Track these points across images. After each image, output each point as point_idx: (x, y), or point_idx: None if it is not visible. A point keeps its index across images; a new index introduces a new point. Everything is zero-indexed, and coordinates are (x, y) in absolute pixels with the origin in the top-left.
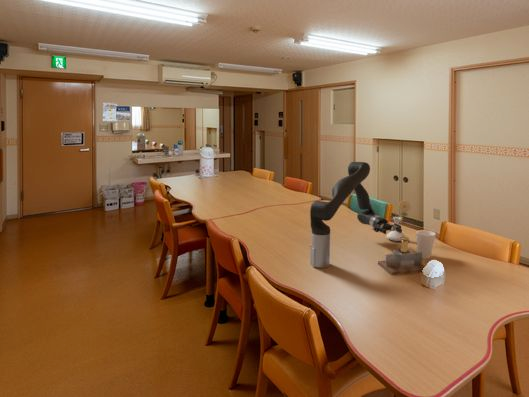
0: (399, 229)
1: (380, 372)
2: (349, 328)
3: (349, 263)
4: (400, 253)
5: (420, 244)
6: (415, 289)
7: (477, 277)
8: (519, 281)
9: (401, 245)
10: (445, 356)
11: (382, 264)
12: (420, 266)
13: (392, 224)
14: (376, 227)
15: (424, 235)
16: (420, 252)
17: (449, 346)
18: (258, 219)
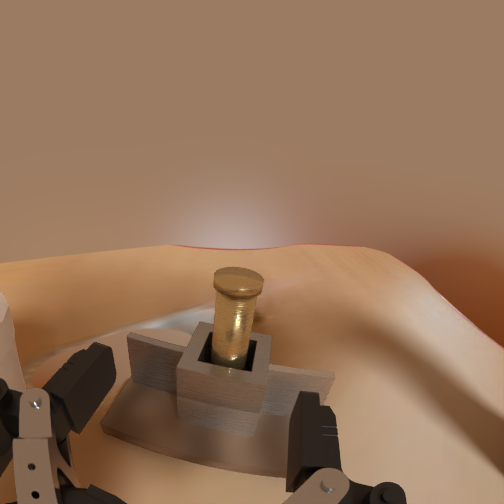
0: (100, 363)
1: (401, 261)
2: (430, 290)
3: (448, 493)
4: (268, 343)
5: (18, 377)
6: (291, 316)
7: (89, 289)
8: (56, 259)
9: (251, 325)
10: (340, 252)
11: None
12: None
13: (19, 468)
14: (400, 496)
15: (8, 306)
16: (139, 335)
17: (328, 254)
18: None
